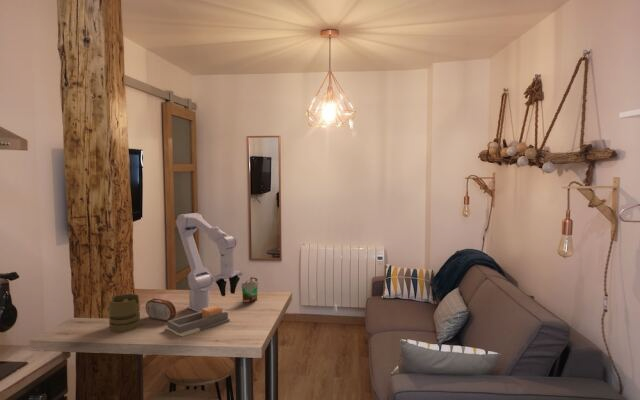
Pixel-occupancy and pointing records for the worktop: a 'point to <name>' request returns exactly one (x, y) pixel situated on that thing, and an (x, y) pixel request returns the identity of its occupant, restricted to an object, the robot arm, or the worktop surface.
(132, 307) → the piston
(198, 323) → the chute
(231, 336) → the worktop surface
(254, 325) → the worktop surface
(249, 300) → the food container
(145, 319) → the worktop surface
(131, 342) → the worktop surface
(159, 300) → the tin
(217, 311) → the block
